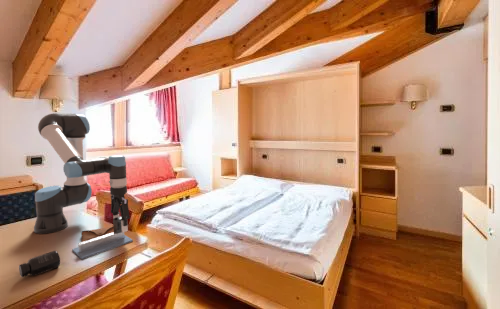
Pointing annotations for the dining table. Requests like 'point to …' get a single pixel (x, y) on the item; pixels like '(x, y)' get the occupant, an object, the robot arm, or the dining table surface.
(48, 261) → the supplement bottle
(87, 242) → the grey mallet
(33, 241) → the dining table surface
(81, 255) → the mat
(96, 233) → the sunglasses case
